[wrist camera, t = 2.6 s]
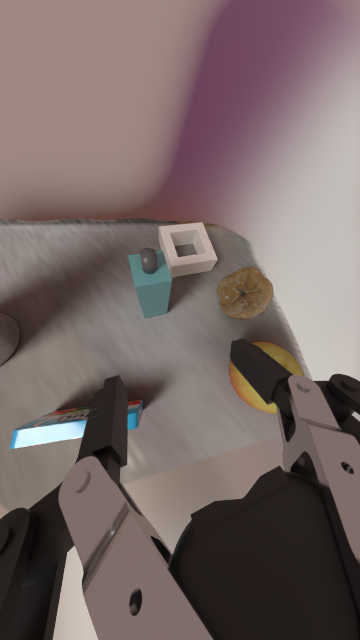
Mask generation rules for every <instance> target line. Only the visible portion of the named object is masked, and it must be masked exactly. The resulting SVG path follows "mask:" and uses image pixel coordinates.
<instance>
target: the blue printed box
mask: <svg viewBox="0 0 360 640" xmlns="http://www.w3.org/2000/svg"><path fill="white" fill-rule="evenodd" d="M89 409H90V406H89V407H81V408H74V409H66V410H59V411H54V412H51V413H49V414H47V415H45V416H42V417H40V418H38V419H36V420H34V421H32V422H29V423H27V424H25V425H23V426H21V427H19V428H16V429H14V430H13V436H12V441H11V446H10V449H13V448H19V447H25V446H32V445H38V444H44V443H50V442H56V441H63V440H69V439H75V438H81V437H83V434H84V430H85V426H86V421H87V417H88V413H89ZM142 413H143V400H135V401H128V430H131V429H135V428H137V427H138V426H139V423H140V420H141V416H142Z"/></svg>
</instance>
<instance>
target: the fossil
mask: <svg viewBox="0 0 360 640" xmlns="http://www.w3.org/2000/svg"><path fill="white" fill-rule="evenodd" d="M217 294H218V296H219V298H220V307H221V310H222V311H223V312H224V313H225V314H226V315H227V316H229V317H233V318H239V319H251V318H253V317H254V316H255V315H257V314H260V313H263V312H264V311H265V310H266V308H267V306H268V305H269V303H270V301H271V300H272V297H273V286H272V284H271V282H270V281H269V280H268V279H267V278H266V277H264V276H263V275H262V273H261V271H260V270H259V269H257V268H254V267H247V268H242V269H240V270H238V271H236V272H235V273H233V274H231V275H229V276H227V277H225V278H223V279H222V281H221V282H220V283H219V285H218V289H217Z"/></svg>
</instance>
